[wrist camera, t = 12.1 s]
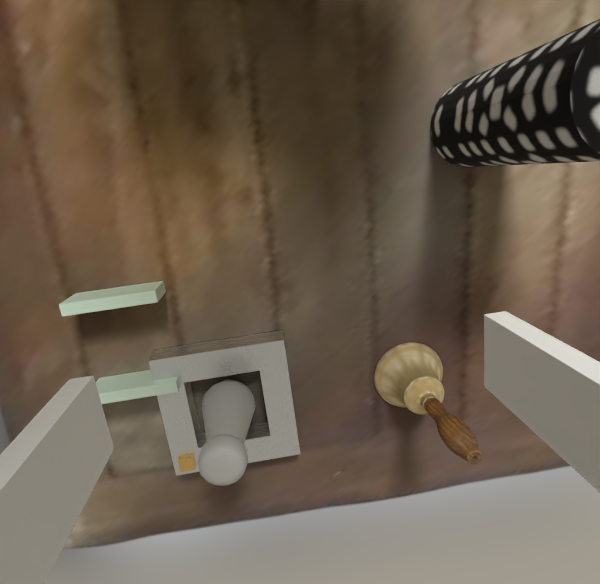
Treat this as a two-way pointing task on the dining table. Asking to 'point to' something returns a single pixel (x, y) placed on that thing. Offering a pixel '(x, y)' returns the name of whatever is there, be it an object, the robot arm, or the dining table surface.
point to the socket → (216, 363)
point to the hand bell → (423, 393)
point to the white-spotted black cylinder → (526, 108)
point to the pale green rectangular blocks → (115, 298)
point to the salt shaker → (225, 431)
